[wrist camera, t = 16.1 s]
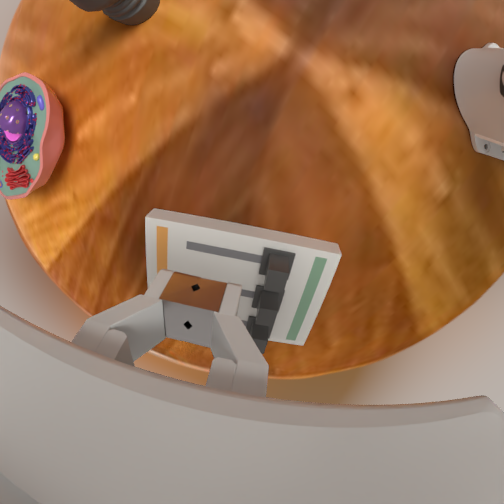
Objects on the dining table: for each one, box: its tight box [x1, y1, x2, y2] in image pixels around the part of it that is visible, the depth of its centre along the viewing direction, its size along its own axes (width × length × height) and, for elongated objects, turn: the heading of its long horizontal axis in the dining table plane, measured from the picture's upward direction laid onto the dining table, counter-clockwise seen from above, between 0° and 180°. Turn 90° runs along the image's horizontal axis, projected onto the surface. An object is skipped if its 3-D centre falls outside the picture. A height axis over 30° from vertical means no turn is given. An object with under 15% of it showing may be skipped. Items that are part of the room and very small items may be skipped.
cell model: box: [0, 72, 65, 199], centre depth 26 cm, size 17×20×11 cm
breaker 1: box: [246, 316, 275, 354], centre depth 41 cm, size 4×4×4 cm
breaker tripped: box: [251, 285, 285, 327], centre depth 37 cm, size 4×4×4 cm
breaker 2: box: [259, 247, 296, 293], centre depth 34 cm, size 4×4×4 cm
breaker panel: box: [145, 208, 342, 346], centre depth 41 cm, size 26×18×3 cm
